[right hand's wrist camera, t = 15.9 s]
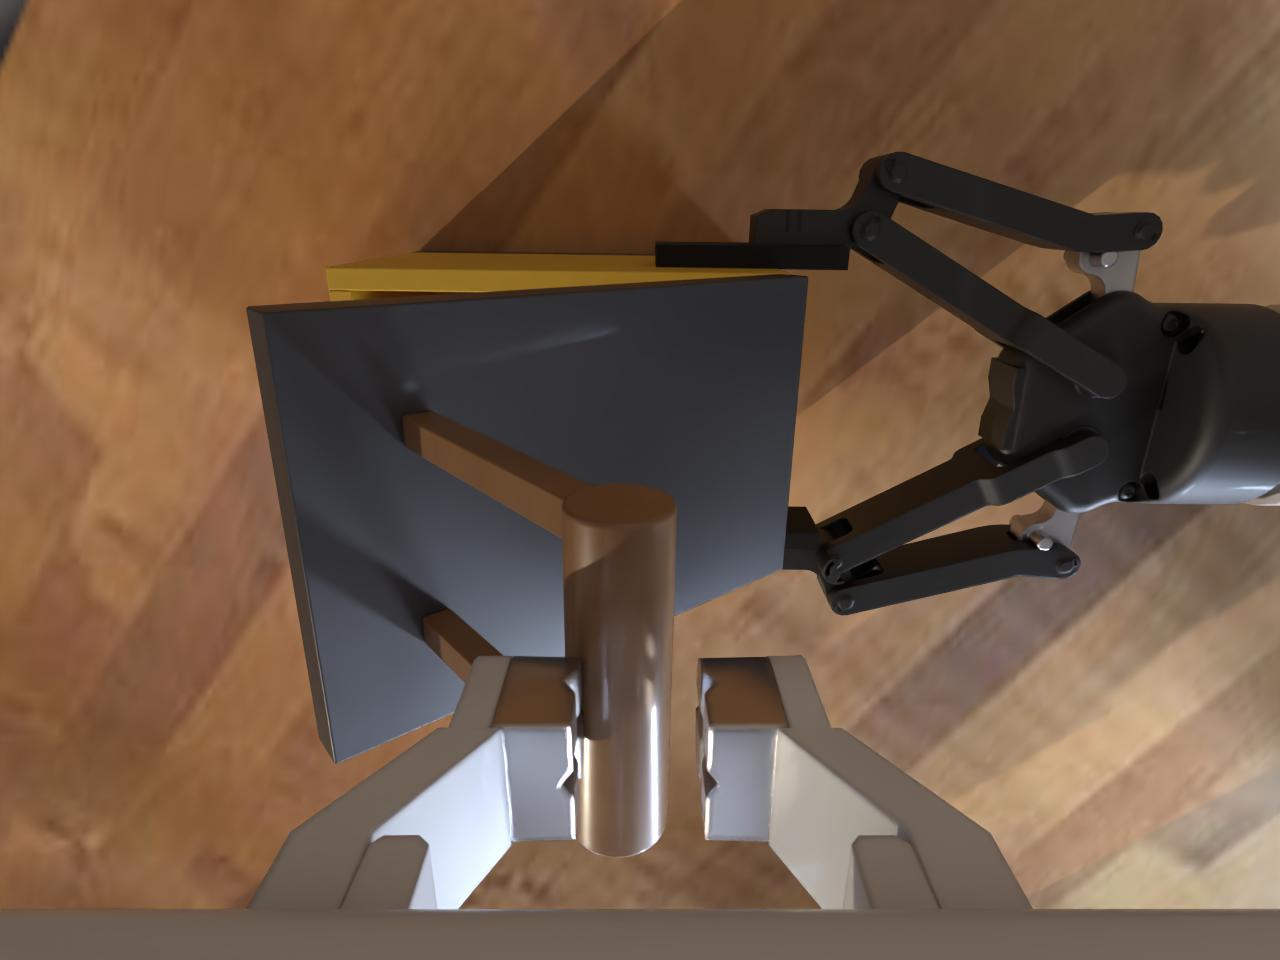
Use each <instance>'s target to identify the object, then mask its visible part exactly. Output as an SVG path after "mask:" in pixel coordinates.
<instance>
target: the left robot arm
mask: <svg viewBox="0 0 1280 960" xmlns="http://www.w3.org/2000/svg"><path fill="white" fill-rule="evenodd" d="M898 202H900V203H903V204H906V205H909V206H912V207H915V208H918V209H921V210H924V211H927V212H931V213H934V214H937V215H940V216H943V217H946V218H949V219H952V220H955V221H958V222H961V223H964V224H968V225H971V226H974V227H977V228H980V229H983V230H986V231H989V232H992V233H995V234H998V235H1001V236H1004V237H1008V238H1011V239H1014V240H1017V241H1020V242H1023V243H1026V244H1029V245H1033V246H1037V247H1041V248H1048V249H1056V250H1066V251H1065V253H1064V260H1065V261H1066V264H1067V267H1068V268H1069V269H1070V270H1071V271H1073V272H1076V273H1080V274H1083V275H1085V276H1087V278H1088V279H1089V280H1090V283H1091V291H1088V292H1086V293H1085V294H1083V295H1081V296H1080V297H1078V298H1077V299H1075V300H1073V301H1072V302H1070V303H1069V304H1067V305H1065V306H1064V307H1062V308H1061V309H1059V310H1058V311H1056V312H1054V313H1053V314H1051V315H1050V316H1048V317H1046V318H1044V317H1043V316H1041V315H1039V314H1038V313H1036V312H1033V311H1031V310H1029V309H1027V308H1025V307H1024V306H1022V305H1020V304H1019V303H1017V302H1016V301H1014V300H1013V299H1011V298H1010V297H1008V296H1007V295H1005V294H1004V293H1002V292H1001V291H999V290H998V289H996V288H995V287H993V286H991V285H990V284H988V283H987V282H985V281H984V280H982V279H981V278H979V277H978V276H976V275H975V274H973V273H972V272H970V271H969V270H967V269H966V268H964V267H963V266H961V265H960V264H958V263H957V262H955V261H953V260H952V259H950V258H949V257H947V256H946V255H944V254H943V253H941V252H940V251H938V250H937V249H935V248H934V247H932V246H931V245H929V244H928V243H926V242H925V241H923V240H922V239H920V238H919V237H917V236H915V235H914V234H912V233H911V232H909V231H908V230H906V229H905V228H903V227H902V226H900V225H899V224H897V223H896V222H894V221H893V220H891V216H892V214H893V212H894V210H895V208H896V206H897V204H898ZM1162 230H1163V229H1162V221H1161V219H1160V217H1159V216H1157V215H1156V214H1154V213H1148V212H1104V213H1086V212H1083V211H1080V210H1077V209H1074V208H1071V207H1068V206H1065V205H1062V204H1059V203H1056V202H1053V201H1050V200H1047V199H1044V198H1041V197H1038V196H1035V195H1032V194H1029V193H1026V192H1023V191H1020V190H1017V189H1014V188H1011V187H1008V186H1005V185H1002V184H999V183H996V182H993V181H990V180H987V179H984V178H981V177H978V176H975V175H972V174H969V173H966V172H963V171H960V170H957V169H954V168H951V167H948V166H945V165H942V164H939V163H936V162H933V161H930V160H927V159H924V158H920V157H917V156H914V155H911V154H908V153H905V152H894V153H890V154H886V155H882V156H878V157H874V158H871V159H869V160H868V161H867V162H865V163H864V164H863V166H862V168H861V169H860V173H859V182H858V184H857V186H856V188H855V191H854V193H853V195H852V197H851V198H850V200H849V201H848V202H847V203H846V204H845V205H844V206H842V207H841V208H838V209H836V210H793V209H765V210H762V211H760V212H757V213H755V214H752V215H751V216H750V233H749V243H731V242H655V264H656V267H676V268H749V269H805V270H848V262H849V252H850V249H852V250H853V251H855V252H857V253H858V254H860V255H861V256H863V257H864V258H866V259H868V260H869V261H871V262H872V263H874V264H875V265H877V266H878V267H880V268H882V269H883V270H885V271H886V272H888V273H889V274H891V275H892V276H894V277H896V278H897V279H899V280H900V281H902V282H903V283H905V284H906V285H908V286H910V287H911V288H913V289H914V290H916V291H917V292H919V293H920V294H922V295H924V296H925V297H927V298H928V299H930V300H931V301H933V302H934V303H936V304H938V305H939V306H941V307H942V308H944V309H945V310H947V311H948V312H950V313H952V314H953V315H955V316H956V317H958V318H959V319H961V320H962V321H964V322H966V323H967V324H969V325H970V326H972V327H973V328H974V329H975V330H976V331H977V332H979V333H980V334H982V335H983V336H985V337H986V338H988V339H990V340H991V341H993V342H994V343H996V344H997V345H999V346H1000V347H1002V348H1003V350H1002V351H1001V353H1000V354H999V356H998V358H992V359H991V365H990V370H989V376H988V379H989V389H990V398H989V401H988V403H987V405H986V407H985V410H984V412H983V414H982V416H981V421H980V427H979V433H978V435H979V436H981V437H982V439H979V440H977V441H975V442H973V443H971V444H969V445H967V446H965V447H963V448H961V449H959V450H957V451H956V452H955V453H954V455H953V457H952V458H951V459H950V460H949V461H947V462H945V463H942V464H940V465H938V466H936V467H934V468H932V469H930V470H928V471H926V472H924V473H922V474H920V475H918V476H915V477H913V478H911V479H909V480H907V481H905V482H903V483H901V484H899V485H897V486H895V487H893V488H891V489H888V490H886V491H884V492H882V493H880V494H878V495H876V496H874V497H872V498H870V499H868V500H866V501H864V502H861V503H859V504H857V505H855V506H853V507H851V508H849V509H847V510H845V511H843V512H841V513H839V514H837V515H834V516H832V517H830V518H828V519H826V520H824V521H822V522H820V523H818V524H816V525H815V523H814V521H813V519H812V517H811V516H810V514H809V512H808V510H807V508H806V507H788V512H787V523H786V534H785V545H784V557H783V568H782V569H794V570H810V571H813V572H815V573H816V574H817V579H818V581H819V583H820V586H821V588H822V590H823V592H824V594H825V596H826V598H827V600H828V602H829V604H830V606H831V609H832V610H833V611H834V612H835V613H836V614H839V615H849V614H854V613H858V612H863V611H867V610H871V609H876V608H880V607H885V606H889V605H893V604H898V603H902V602H907V601H911V600H915V599H920V598H924V597H929V596H933V595H937V594H942V593H946V592H951V591H955V590H959V589H964V588H968V587H973V586H977V585H981V584H986V583H990V582H995V581H999V580H1003V579H1008V578H1012V577H1017V576H1027V577H1040V578H1052V579H1067V578H1069V577H1072V576H1073V575H1074V574H1075V573H1077V571H1078V570H1079V568H1080V562H1081V561H1080V559H1079V557H1078V556H1077V555H1076V554H1075V553H1074V552H1072V551H1071V550H1070V549H1069V547H1070V544H1071V541H1072V537H1073V534H1074V531H1075V528H1076V525H1077V522H1078V519H1079V515H1080V513H1083V512H1087V511H1090V510H1092V509H1094V508H1097V507H1099V506H1101V505H1104V504H1107V503H1112V502H1131V503H1145V504H1219V505H1227V504H1238V503H1246V504H1251V505H1256V506H1280V305H1269V306H1265V307H1264V306H1259V305H1254V304H1206V303H1151V302H1149V301H1147V300H1145V299H1144V298H1143V297H1141V296H1140V295H1138V294H1136V293H1134V292H1133V291H1134V285H1135V279H1136V273H1137V267H1138V261H1139V255H1140V250H1144V249H1148V248H1150V247H1151V246H1153V245H1154V244H1155V243H1156V242H1157V241H1158V239H1159V238H1160V236H1161V233H1162ZM999 465H1002V466H1003V467H997V466H999ZM1032 492H1036V493H1037V494H1038V495H1039V496H1041V497H1042V498H1043V499H1045V501H1044V504H1043V506H1042V507H1041V508H1040V509H1039V510H1038V511H1036V512H1034V513H1032V514H1027V515H1022V516H1021V515H1015V516H1013V517H1012V518H1011V519H1010V525H988V526H983V527H977V528H973V529H969V530H964V531H960V532H956V533H952V534H947V535H943V536H939V537H935V538H930V539H926V540H922V541H918V542H913V543H909V544H905V543H908V542H910V541H912V540H914V539H916V538H918V537H920V536H923V535H925V534H927V533H929V532H931V531H933V530H935V529H938V528H940V527H942V526H944V525H946V524H948V523H950V522H953V521H955V520H957V519H959V518H961V517H963V516H965V515H968V514H970V513H972V512H974V511H976V510H978V509H980V508H983V507H985V506H989V505H995V506H1000V505H1005V504H1008V503H1010V502H1012V501H1014V500H1017V499H1019V498H1021V497H1023V496H1025V495H1027V494H1029V493H1032ZM903 544H905V545H903Z"/></svg>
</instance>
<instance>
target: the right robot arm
mask: <svg viewBox="0 0 1280 960" xmlns="http://www.w3.org/2000/svg"><path fill="white" fill-rule="evenodd" d="M582 689H583V678H582V660H581V657H544V656H513V657H512V656H478V657H477V658H476V659H475V660H474V661H473V664H472V666H471V669H470V672H469V674H468V677H467V680H466V682H465V685H464V688H463V690H462V693H461V696H460V699H459V701H458V704H457V707H456V709H455V712H454V715H453V717H452V720H451V723H450V725H449V728H438V729H436V730H435V731H433V732H432V733H431V734H429V735H428V736H426V737H425V738H423V739H422V740H421V741H419V742H418V743H416V744H415V745H413V746H412V747H411V748H409V749H408V750H406V751H405V752H404V753H402V754H401V755H399V756H398V757H396V758H395V759H394V760H392V761H391V762H389V763H388V764H386V765H385V766H384V767H382V768H381V769H379V770H378V771H377V772H375V773H374V774H372V775H371V776H369V777H368V778H367V779H365V780H364V781H362V782H361V783H359V784H358V785H357V786H355V787H354V788H352V789H351V790H349V791H348V792H347V793H345V794H344V795H342V796H341V797H340V798H338V799H337V800H335V801H334V802H332V803H331V804H330V805H328V806H327V807H325V808H324V809H322V810H321V811H320V812H318V813H317V814H315V815H314V816H313V817H311V818H310V819H308V820H307V821H305V822H304V823H303V824H301V825H300V826H298V827H297V828H295V829H294V830H293V831H291V832H290V834H289V836H288V837H287V839H286V841H285V843H284V844H283V846H282V848H281V850H280V851H279V853H278V855H277V857H276V858H275V860H274V862H273V864H272V866H271V867H270V869H269V871H268V873H267V874H266V876H265V878H264V880H263V881H262V883H261V885H260V887H259V888H258V890H257V892H256V894H255V896H254V897H253V899H252V901H251V903H250V904H249V906H248V908H247V909H0V960H1280V909H1033V908H1032V906H1031V905H1030V903H1029V901H1028V899H1027V898H1026V896H1025V894H1024V892H1023V890H1022V889H1021V887H1020V885H1019V883H1018V881H1017V880H1016V878H1015V876H1014V874H1013V873H1012V871H1011V869H1010V867H1009V865H1008V864H1007V862H1006V860H1005V858H1004V856H1003V855H1002V853H1001V851H1000V849H999V848H998V846H997V844H996V842H995V840H994V839H993V837H992V835H991V833H989V832H988V831H987V830H985V829H984V828H982V827H981V826H980V825H978V824H977V823H975V822H974V821H973V820H971V819H970V818H968V817H967V816H965V815H964V814H963V813H961V812H960V811H958V810H957V809H956V808H954V807H953V806H951V805H950V804H948V803H947V802H946V801H944V800H943V799H941V798H940V797H939V796H937V795H936V794H934V793H933V792H931V791H930V790H929V789H927V788H926V787H924V786H923V785H922V784H920V783H919V782H917V781H916V780H914V779H913V778H912V777H910V776H909V775H907V774H906V773H905V772H903V771H902V770H900V769H899V768H898V767H896V766H895V765H893V764H892V763H890V762H889V761H888V760H886V759H885V758H883V757H882V756H881V755H879V754H878V753H876V752H875V751H873V750H872V749H871V748H869V747H868V746H866V745H865V744H864V743H862V742H861V741H859V740H858V739H856V738H855V737H854V736H852V735H851V734H849V733H848V732H847V731H845V730H844V729H842V728H831V726H830V723H829V720H828V718H827V715H826V712H825V710H824V707H823V704H822V702H821V699H820V697H819V694H818V691H817V689H816V686H815V683H814V681H813V678H812V675H811V673H810V670H809V667H808V665H807V662H806V659H805V658H804V657H802V656H801V655H793V656H767V657H739V658H698V667H697V690H698V699H699V706H698V707H697V708H696V759H697V771H698V777H699V778H700V779H701V810H702V818H703V827H704V836H705V840H725V841H761V842H769V846H770V847H771V848H772V849H773V851H774V852H775V853H776V854H777V855H778V857H779V858H780V859H781V860H782V861H783V863H784V864H785V865H786V866H787V867H788V869H789V870H790V871H791V872H792V873H793V875H794V876H795V877H796V878H797V879H798V881H799V882H800V883H801V884H802V885H803V886H804V888H805V889H806V890H807V891H808V892H809V894H810V895H811V896H812V897H813V898H814V900H815V901H816V902H817V903H818V904H819V906H820V907H821V908H822V909H458V908H459V907H460V906H461V905H462V904H463V902H464V901H465V900H466V899H467V898H468V896H469V895H470V894H471V893H472V892H473V890H474V889H475V888H476V887H477V886H478V884H479V883H480V882H481V881H482V880H483V878H484V877H485V876H486V875H487V874H488V873H489V871H490V870H491V869H492V868H493V867H494V865H495V864H496V863H497V862H498V861H499V859H500V858H501V857H502V856H503V855H504V853H505V852H506V851H507V850H508V849H509V847H510V846H511V842H519V841H553V840H575V836H576V827H577V818H578V809H579V779H580V778H581V777H582V770H583V756H584V712H583V710H582V708H581V698H582Z"/></svg>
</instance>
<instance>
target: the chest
mask: <svg viewBox="0 0 1280 960" xmlns="http://www.w3.org/2000/svg"><path fill="white" fill-rule="evenodd" d="M326 273H327V281H328V288H329V290H330V291H329V296H330V301H345V300H361V299H378V298H394V297H410V296H427V295H443V294H459V293H476V292H492V291H509V290H525V289H541V288H558V287H574V286H590V285H607V284H623V283H639V282H656V281H672V280H689V279H705V278H721V277H738V276H754V275H770V274H787V275H790V274H789V273H787V272H784V271H782V270H780V269H749V268H676V267H656V264H655V254H593V253H519V252H445V251H416V252H412V253H407V254H401V255H395V256H390V257H384V258H378V259H372V260H366V261H360V262H354V263H348V264H342V265H336V266H331V267H326Z"/></svg>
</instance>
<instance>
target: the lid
mask: <svg viewBox="0 0 1280 960" xmlns="http://www.w3.org/2000/svg"><path fill="white" fill-rule="evenodd" d="M807 288H808V277H807V276H799V275H787V274H770V275H754V276H738V277H721V278H705V279H689V280H672V281H656V282H639V283H623V284H607V285H590V286H574V287H558V288H541V289H525V290H509V291H492V292H476V293H459V294H443V295H427V296H410V297H394V298H378V299H361V300H345V301H329V302H312V303H296V304H280V305H263V306H249V307H247V315H248V321H249V327H250V333H251V339H252V345H253V351H254V357H255V362H256V368H257V374H258V380H259V386H260V392H261V398H262V404H263V410H264V415H265V421H266V427H267V433H268V439H269V445H270V451H271V457H272V462H273V468H274V474H275V480H276V486H277V492H278V498H279V504H280V510H281V515H282V521H283V527H284V533H285V539H286V545H287V551H288V557H289V563H290V568H291V574H292V580H293V586H294V592H295V598H296V604H297V610H298V616H299V621H300V627H301V633H302V639H303V645H304V651H305V657H306V663H307V668H308V674H309V680H310V686H311V692H312V698H313V704H314V710H315V716H316V721H317V727H318V733H319V739H320V740H321V742H322V743H323V745H324V747H325V748H326V750H327V752H328V753H329V755H330V756H331V758H332V760H333V761H334V763H335V764H338V763H340V762H343V761H345V760H347V759H349V758H352V757H354V756H356V755H359V754H361V753H363V752H365V751H368V750H370V749H372V748H375V747H377V746H379V745H381V744H384V743H386V742H388V741H391V740H393V739H395V738H397V737H400V736H402V735H404V734H407V733H409V732H411V731H413V730H416V729H418V728H420V727H422V726H425V725H427V724H429V723H432V722H434V721H436V720H438V719H441V718H443V717H445V716H448V715H450V714H452V713H454V712H455V709H456V707H457V704H458V701H459V699H460V696H461V693H462V690H463V688H464V685H465V682H466V680H467V677H468V674H469V672H470V669H471V666H472V664H473V661H474V660H475V659H476V658H477V657H478V656H512V657H513V656H544V657H581V660H582V678H583V689H582V698H581V708H582V710H583V712H584V756H583V770H582V777H581V778H580V779H579V809H578V818H577V827H576V836H575V837H576V839H577V840H578V841H579V843H580V844H581V845H583V846H584V847H585V848H586V849H588V850H589V851H591V852H593V853H595V854H598V855H601V856H605V857H611V858H623V857H630V856H634V855H637V854H640V853H642V852H644V851H646V850H647V849H649V848H650V847H652V846H653V845H654V844H655V843H656V842H657V841H658V840H659V838H660V837H661V835H662V834H663V832H664V830H665V827H666V823H667V807H668V777H669V746H670V715H671V685H672V654H673V624H674V616H676V615H678V614H680V613H683V612H685V611H687V610H690V609H692V608H694V607H696V606H699V605H701V604H703V603H706V602H708V601H710V600H712V599H715V598H717V597H719V596H721V595H724V594H726V593H728V592H731V591H733V590H735V589H737V588H740V587H742V586H744V585H747V584H749V583H751V582H753V581H756V580H758V579H760V578H763V577H765V576H767V575H769V574H772V573H774V572H776V571H779V570H781V569H782V568H783V557H784V545H785V534H786V523H787V512H788V501H789V489H790V478H791V467H792V456H793V445H794V433H795V422H796V411H797V400H798V388H799V377H800V366H801V355H802V344H803V332H804V321H805V310H806V299H807Z"/></svg>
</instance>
